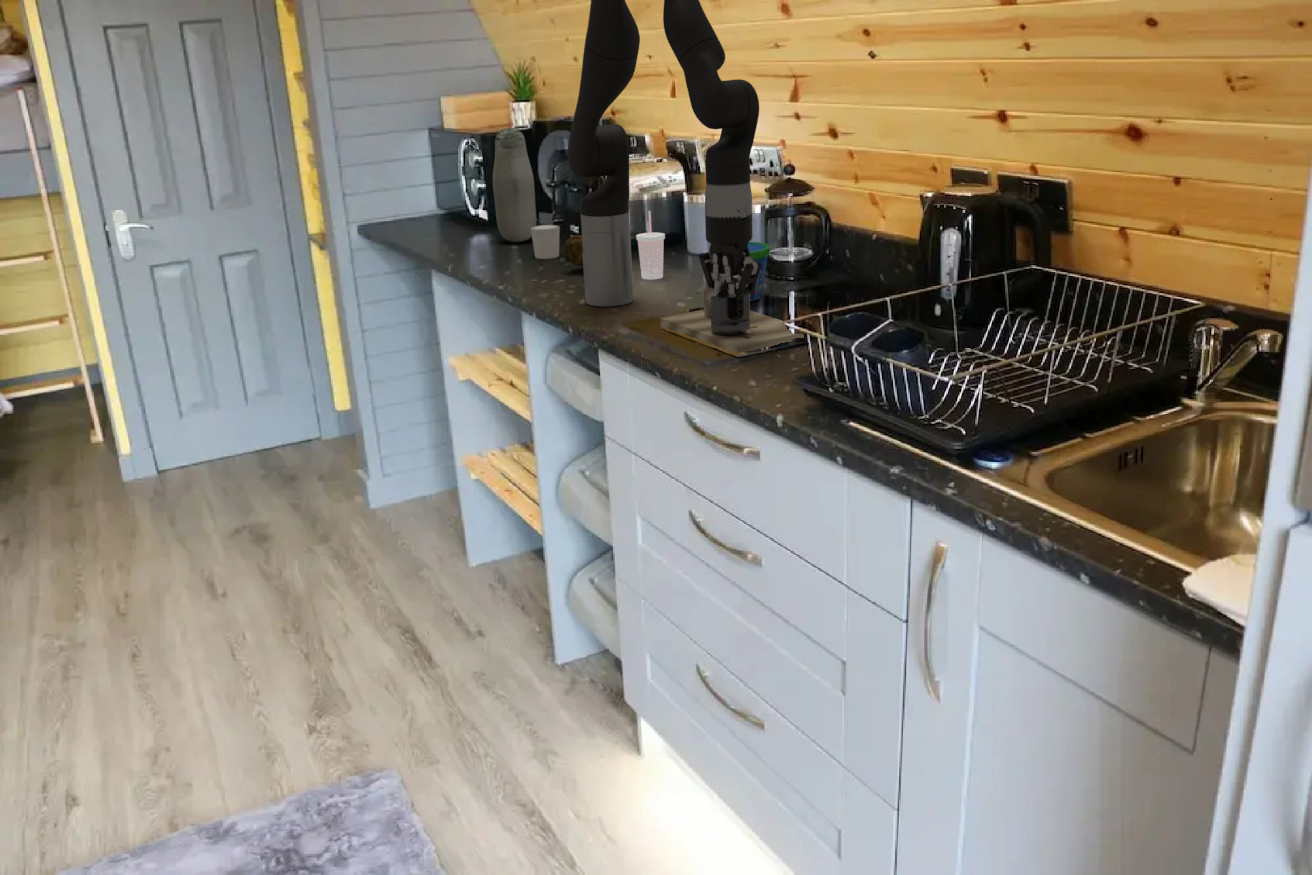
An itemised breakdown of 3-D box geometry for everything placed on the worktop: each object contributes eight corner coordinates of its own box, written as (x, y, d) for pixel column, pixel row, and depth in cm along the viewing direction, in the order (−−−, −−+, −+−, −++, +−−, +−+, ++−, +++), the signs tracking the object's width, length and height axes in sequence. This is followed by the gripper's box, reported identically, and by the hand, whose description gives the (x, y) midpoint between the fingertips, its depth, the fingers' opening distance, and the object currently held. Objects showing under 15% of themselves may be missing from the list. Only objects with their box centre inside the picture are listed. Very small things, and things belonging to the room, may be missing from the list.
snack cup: (754, 310, 206) (754, 255, 202) (702, 306, 210) (700, 253, 207) (781, 291, 219) (781, 240, 216) (731, 288, 223) (730, 238, 220)
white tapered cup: (560, 258, 260) (557, 228, 258) (530, 259, 260) (528, 230, 258) (563, 253, 267) (560, 223, 264) (534, 254, 267) (532, 225, 264)
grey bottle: (493, 241, 286) (483, 128, 276) (531, 236, 290) (522, 125, 280) (505, 247, 277) (494, 131, 268) (543, 242, 281) (535, 128, 272)
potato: (626, 269, 246) (624, 233, 243) (570, 276, 241) (568, 239, 238) (613, 263, 253) (611, 228, 250) (559, 269, 248) (556, 233, 246)
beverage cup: (663, 280, 233) (661, 213, 229) (635, 280, 235) (631, 213, 230) (669, 274, 239) (666, 208, 234) (641, 274, 240) (638, 208, 235)
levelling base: (660, 328, 196) (657, 266, 192) (730, 315, 203) (729, 254, 199) (738, 358, 177) (737, 289, 173) (813, 342, 184) (813, 275, 180)
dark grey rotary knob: (703, 329, 185) (702, 294, 183) (735, 323, 188) (734, 289, 186) (732, 340, 178) (732, 304, 176) (764, 333, 181) (764, 297, 179)
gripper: (683, 210, 181) (686, 313, 187) (738, 219, 170) (740, 329, 176) (719, 204, 185) (721, 306, 191) (775, 213, 174) (775, 320, 180)
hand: (730, 316), depth 183 cm, fingers closed on dark grey rotary knob, 2 cm apart
